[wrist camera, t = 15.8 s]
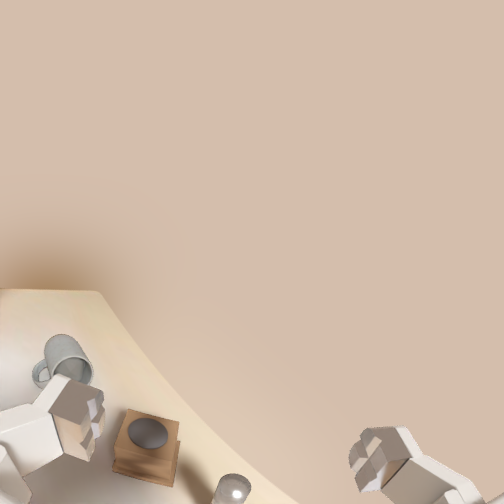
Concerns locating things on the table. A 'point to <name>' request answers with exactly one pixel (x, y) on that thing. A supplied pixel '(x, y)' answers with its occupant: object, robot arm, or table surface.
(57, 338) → the ceramic mug
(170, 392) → the table surface
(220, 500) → the brushed metal cylinder
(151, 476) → the walnut stand
